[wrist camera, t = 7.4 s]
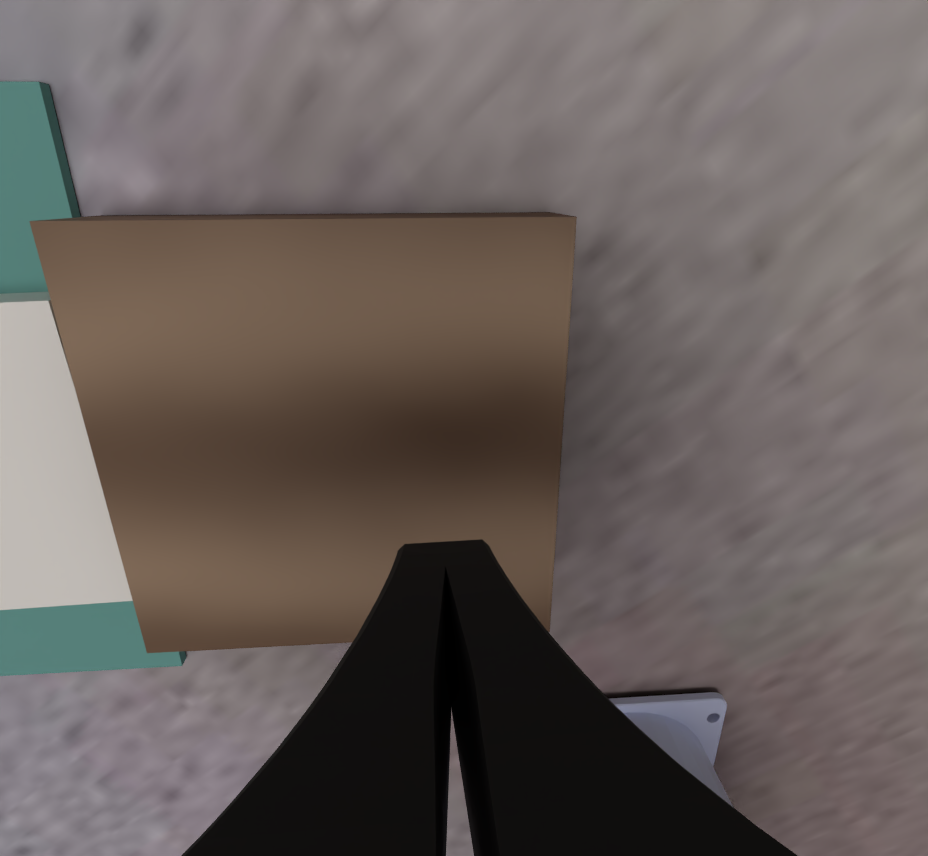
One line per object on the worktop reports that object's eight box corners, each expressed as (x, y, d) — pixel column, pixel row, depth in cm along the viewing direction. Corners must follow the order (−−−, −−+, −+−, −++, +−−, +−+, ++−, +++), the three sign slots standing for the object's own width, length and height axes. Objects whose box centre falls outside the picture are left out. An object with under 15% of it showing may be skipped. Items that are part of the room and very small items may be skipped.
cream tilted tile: (160, 568, 19) (139, 600, 18) (-30, 581, 19) (-69, 614, 17) (83, 290, 16) (48, 300, 14) (-152, 300, 15) (-213, 312, 14)
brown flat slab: (532, 572, 21) (549, 631, 18) (185, 588, 20) (146, 653, 17) (549, 212, 16) (576, 216, 13) (99, 215, 15) (29, 220, 13)
